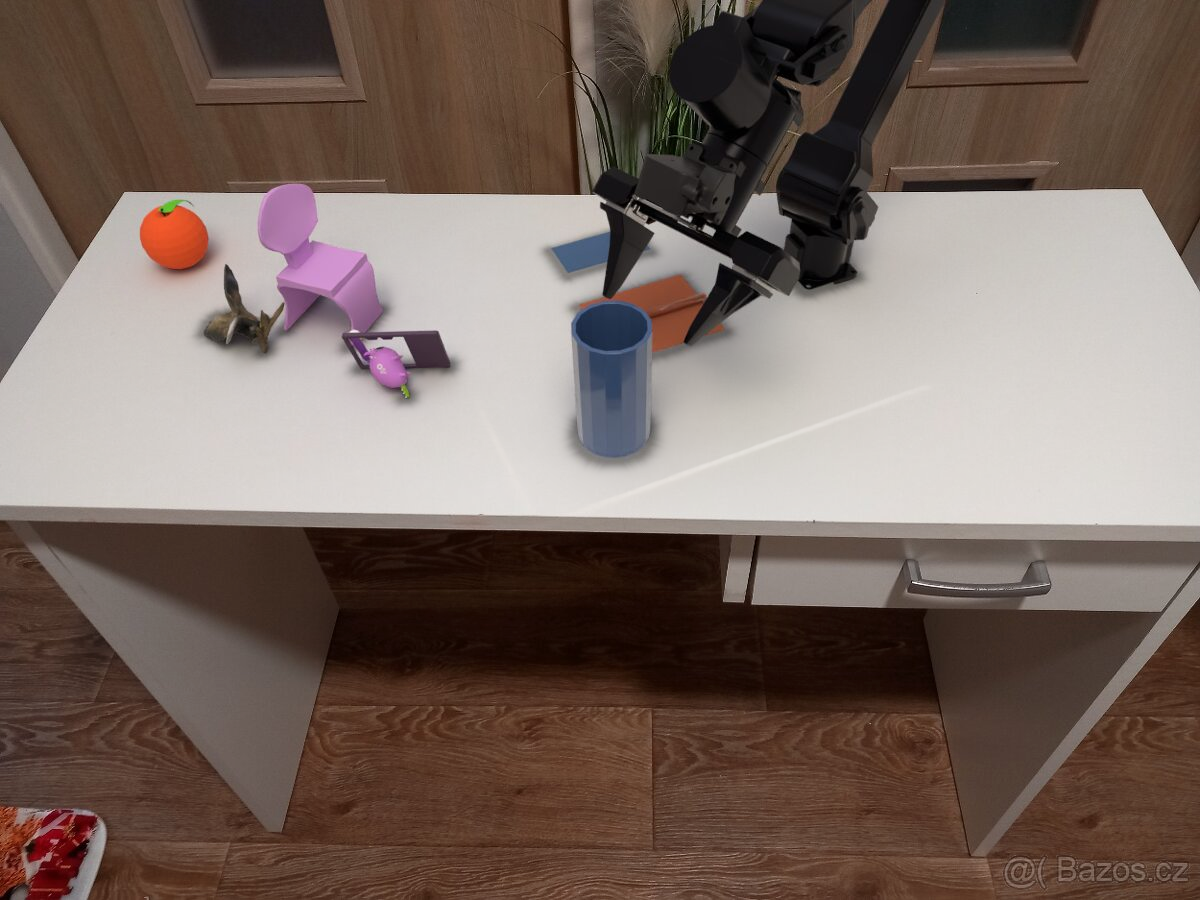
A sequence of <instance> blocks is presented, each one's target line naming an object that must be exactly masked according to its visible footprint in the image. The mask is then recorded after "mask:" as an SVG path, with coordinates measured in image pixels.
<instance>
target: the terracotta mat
mask: <svg viewBox="0 0 1200 900" xmlns="http://www.w3.org/2000/svg"><path fill="white" fill-rule="evenodd" d="M697 294H698V293H696V291H695V290H694V289H693V287H692V286H691V285H690V284H689V283H688V281H687V280H686V279H685V278H684V276H683V275H682V274H676V275H673V276H669V277H667V278H663V279H660V280H657V281H656V280H655V281H653V282H650V283H647V284H644V285H640V286H637V287H633V288H630V289H627V290H623V291H619V292H616V294H615V295H614V296H613V297H612V299H608V298H605V297H604V296H602V297H599V298H597V299H593V300H589V301H586V302H583V303H579V304H578V306H579V307H580V309H581V310H582V309H584V308H585V307H587V306H589V305H591V304H594V303H598V302H601V301H623V302H627V303H631V304H634V305H636V306H638V307H639V308H641V309H643V310H644V311H645V310H648V309H651V308H654V307H658V306H661V305H664V304H667V303H671V302H674V301H677V300H680V299H684V298H687V297H690V296H693V295H697ZM704 302H705V301H703V302H700V303H697V304H694V305H690V306H687V307H684V308H681V309H678V310H674V311H671V312H668V313H665V314H661V315H658V316H655V317H652V318H650V319H651V320H652V354H653V353H656V352H659V351H662V350H665V349H669V348H672V347H675V346H678V345H681V344H685V343H684V339H685V336H686V334H687V332H688V330H689V327H690V325H691V324H692V322H693V320H694V319H695V317H696V315H697V314H698V312H699V310H700V309H701V307H702V305H703V304H704ZM725 330H726V328H725V327H724V325H722V322H721V323H720V324H719V325H718V326H716V327H715V328H714V329H713V330H711V331H710V332H709V333H708V334H706V335H705V336H704V337H706V336H709V335H712V334H715V333H716V334H717V333H718V332H722V331H725Z"/></svg>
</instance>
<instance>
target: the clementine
mask: <svg viewBox="0 0 1200 900" xmlns="http://www.w3.org/2000/svg"><path fill="white" fill-rule="evenodd" d="M182 202H187V203H188V204H190V205H191V206H192V207H193V208H195V206H194V204H193V203H192V202H191V201H189V200H187V199H173V200H170V201H167V202H166V203H164V204H163V205H160V206H157V207H155V208H153V209H152V210H150V211H149V212H148V213H147V214H146V215H145V216H144V218H143V220H142V221H141V225H140V226H139V227H140V228H139V240H140V243H141V247H142V249H143V250H144V251H145V253H146V255H147V256H148V257H149V258H150V259H151V260H152V261H153V262H155V263H156V264H158V265H160V266H162V267H164V268H168V269H175V270H182V269H187V268H190V267H193V266H195V265H197V263H198V262H200V261H201V260H202V259H203V257H204V256H205V254H206V253H207V251H208V247H209V241H210V240H209V239H210V238H209V233H208V229H207V226H206V225H205V223H204V222H203V220H202V218H201V217H200V216H199V215H198V214H196V213H195V212H194V211H192V210H191V209H189V208H187V207H185V206H182V205H179V204H181V203H182Z"/></svg>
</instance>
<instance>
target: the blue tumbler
mask: <svg viewBox="0 0 1200 900" xmlns="http://www.w3.org/2000/svg"><path fill="white" fill-rule="evenodd" d="M570 337H571V352H572V366H573V381H574V397H575V410H576V411H575V413H576V423H577V424H576V426H577V435H578V439H579V441H580V443H581V445H582V446H583V447H584V448H585V449H586V450H588V451H589V452H591V453H592V454H594V455H597V456H599V457H604V458H610V459H611V458H613V459H615V458H616V459H617V458H623V457H628V456H631V455H633V454H635V453H637V452H639V450H641V449H642V448H644V447H645V445H646V443H647V442H648V441H649V438H650V434H651V416H652V413H651V412H652V376H653V375H652V373H653V372H652V369H653V368H652V367H653V353H652V320H651V319H650V317H649V316H648V315H647V313H646V312H645V311H644V310H643V309H641V308H639V307H638V306H636V305H634V304H631V303H627V302H623V301H601V302H598V303H594V304H591V305H589V306H587V307H585V308H584V309H581V310H579V311H577V313H576V314H575V316H574V318H573V319H572V321H571V323H570Z"/></svg>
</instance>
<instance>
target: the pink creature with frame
mask: <svg viewBox="0 0 1200 900" xmlns="http://www.w3.org/2000/svg"><path fill="white" fill-rule="evenodd" d="M341 338H342V340H343V342H344V343H345V345H346V347H347V349H348V350H349V352H350V353H351V355H352V357H353V359H354V360H355V362H356V364H357V366H358V367H359V369H361V370H370V373H371V375H372V377H374V379H375V380H376V381H377V382H378V383H379V384H381V385H383V386H384V387H387V388H391V389H393V388H394V389H395V388H396V389H397V388H400V389H401V390H400V391H403V393H402V395H404V398H406V399H407V398H411V397H410V392H409V390H408V387H407V386H406V383H407V382H408V376H409V375H411V372H410V371H408V370H407V369H428V368H429V369H431V368H435V369H436V368H450V367H451V361H450V358H449V355H448V353H447V349H446V348H445V344H444V342H443V338H442V336H441V334H440V332H439V330H398V331H366V332H359V331H358V330H351V329H350V330H349V332H343V333H342V334H341ZM379 338H380V339H382V340H384V341H388V340H389V341H391V340H393V339H394V338H403V340H404V342H405V344H406V346H407V348H408V351H409V353H410V355H411V357H412V359H413V361H414V363H403V362H402V360H401V359H402V358H403V357H404V355H402V354H399V353H398V352H397V351H396V350H395V349H393V348H391V347H387V346H379V347H376V348H375V347H373V348H369V349H367V347H366V345H365V344H364V342H363V340H364V339H365V340H368V341H378V339H379ZM350 340H351V341H352V342H353V344H354V346H352V344H351V342H350ZM354 347H355V348H354ZM357 352H358V353H357ZM359 355H360V356H361V358H360V356H359ZM361 359H362V360H364V361H365V362H367V363H369V364H364V363H363V361H362V360H361Z"/></svg>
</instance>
